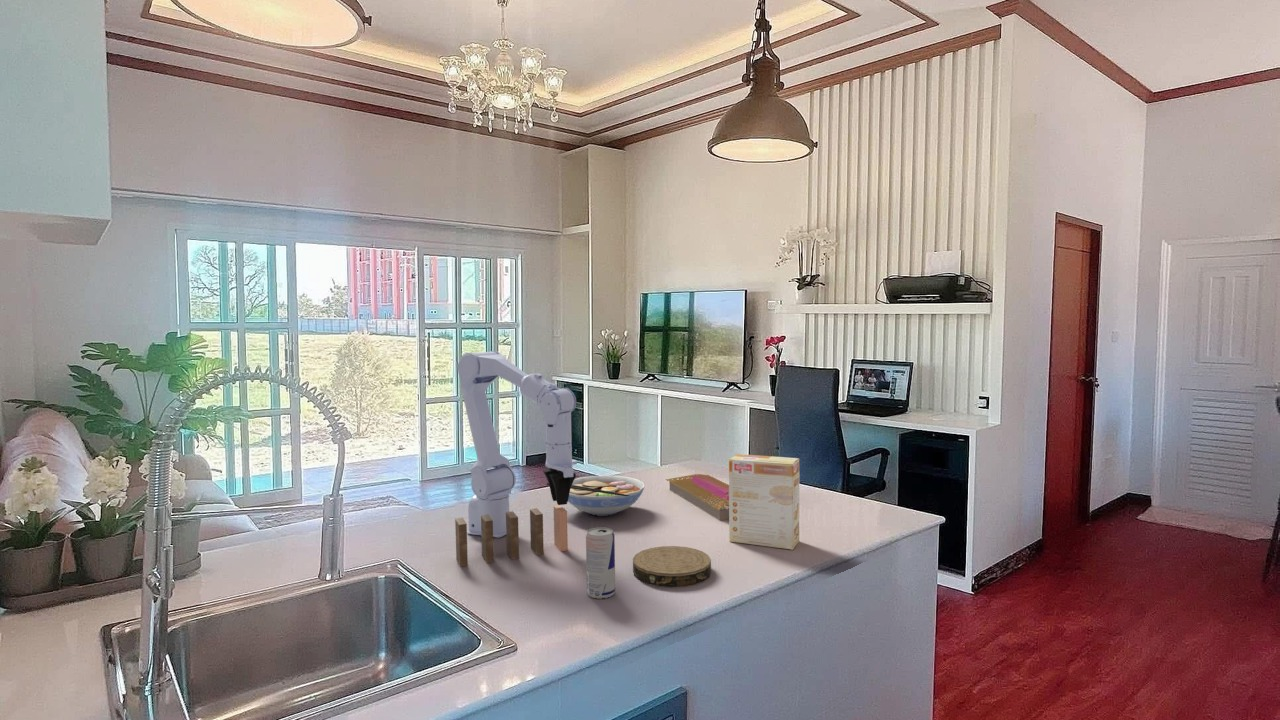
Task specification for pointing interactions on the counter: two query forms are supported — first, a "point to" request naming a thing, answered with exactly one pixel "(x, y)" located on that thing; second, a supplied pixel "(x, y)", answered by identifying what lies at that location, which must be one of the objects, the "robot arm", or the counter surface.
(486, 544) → the domino
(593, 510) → the ramen bowl
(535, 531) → the domino
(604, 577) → the energy drink
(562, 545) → the orange tan rectangular block
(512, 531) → the domino
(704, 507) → the brown rectangular box
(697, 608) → the counter surface
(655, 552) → the wooden tree slice
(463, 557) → the domino
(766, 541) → the coffeecake box
